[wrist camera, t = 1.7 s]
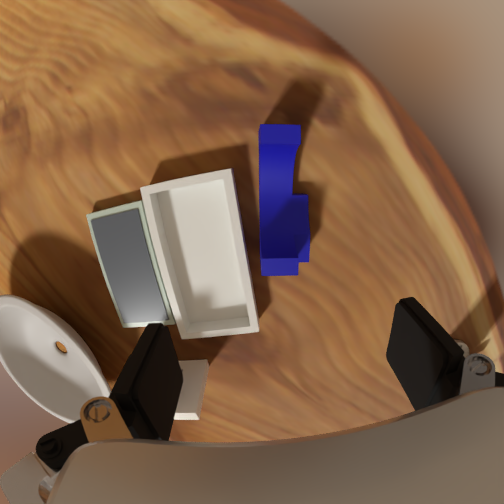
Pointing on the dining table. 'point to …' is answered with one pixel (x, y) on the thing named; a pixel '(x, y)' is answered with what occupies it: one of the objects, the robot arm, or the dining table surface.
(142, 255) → the phone
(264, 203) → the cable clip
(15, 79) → the dining table surface
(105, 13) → the dining table surface
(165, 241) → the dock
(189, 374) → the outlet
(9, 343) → the soup bowl
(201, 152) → the dining table surface
